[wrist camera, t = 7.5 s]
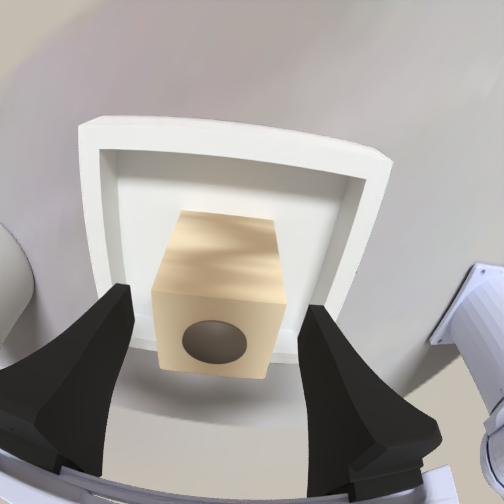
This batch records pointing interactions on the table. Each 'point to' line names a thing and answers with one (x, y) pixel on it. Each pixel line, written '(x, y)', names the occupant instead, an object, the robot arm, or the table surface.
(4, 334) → the mug
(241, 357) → the bore block
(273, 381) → the table surface
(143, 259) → the tray
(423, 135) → the table surface
